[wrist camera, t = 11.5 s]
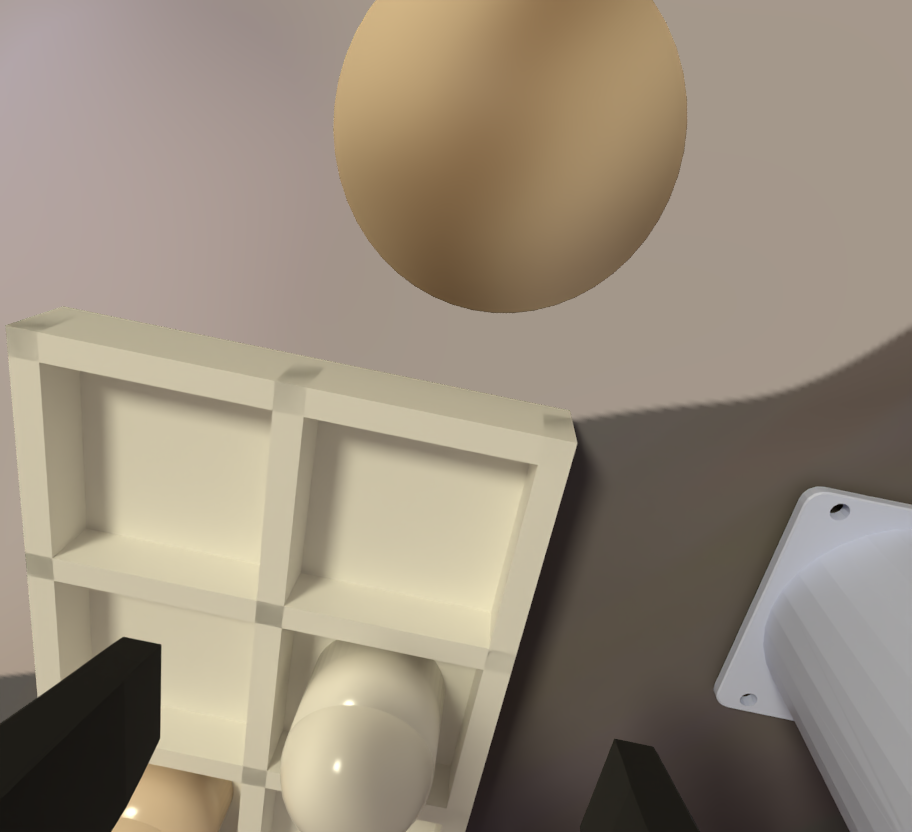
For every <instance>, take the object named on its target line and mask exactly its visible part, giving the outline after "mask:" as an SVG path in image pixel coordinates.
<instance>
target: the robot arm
mask: <svg viewBox="0 0 912 832" xmlns="http://www.w3.org/2000/svg"><path fill="white" fill-rule="evenodd" d="M837 504H843V507H842V508H841V509H840V511H838V512H836V513H830V510H831V509H832V508H833V506H835V505H837ZM714 692H715V695H716V698H717V700H718V702H719V703H720V704H721V705H723V706H726V707H729V708H734V709H739V710H744V711H749V712H753V713H758V714H763V715H768V716H773V717H778V718H782V719H787V720H792V721H795V723H796V725H797V727H798V729H799V731H800V733H801V735H802V737H803V739H804V741H805V743H806V745H807V747H808V749H809V751H810V753H811V755H812V757H813V759H814V761H815V763H816V765H817V767H818V769H819V771H820V773H821V775H822V777H823V779H824V781H825V783H826V785H827V787H828V789H829V791H830V793H831V795H832V797H833V799H834V801H835V803H836V805H837V807H838V809H839V811H840V813H841V815H842V817H843V819H844V821H845V823H846V825H847V827H848V829H849V831H850V832H912V505H910V504H905V503H900V502H895V501H891V500H886V499H881V498H876V497H871V496H866V495H861V494H857V493H852V492H847V491H842V490H837V489H832V488H827V487H813V488H810V489H808V490H807V491H805V492H804V493H803V494H802V495H801V496H800V498H799V500H798V502H797V504H796V506H795V508H794V511H793V513H792V515H791V517H790V520H789V522H788V524H787V526H786V528H785V531H784V533H783V535H782V537H781V539H780V542H779V544H778V546H777V548H776V550H775V553H774V555H773V557H772V559H771V561H770V564H769V566H768V568H767V570H766V572H765V575H764V577H763V579H762V581H761V583H760V586H759V588H758V590H757V592H756V594H755V597H754V599H753V601H752V603H751V605H750V608H749V610H748V612H747V614H746V616H745V619H744V621H743V623H742V625H741V627H740V630H739V632H738V634H737V636H736V639H735V641H734V643H733V645H732V647H731V650H730V652H729V654H728V656H727V658H726V661H725V663H724V665H723V667H722V669H721V672H720V674H719V676H718V678H717V680H716V683H715V685H714ZM745 694H750V695H748V696H743V695H745ZM160 726H161V644H157V643H152V642H147V641H142V640H138V639H133V638H128V637H122V638H120V639H119V640H117V641H116V642H114V643H113V644H111V645H110V646H109V647H107V648H106V649H104V650H103V651H101V652H100V653H99V654H97V655H96V656H95V657H93V658H92V659H90V660H89V661H88V662H86V663H85V664H84V665H82V666H81V667H79V668H78V669H77V670H75V671H74V672H72V673H71V674H70V675H68V676H67V677H66V678H64V679H63V680H61V681H60V682H59V683H57V684H56V685H54V686H53V687H52V688H50V689H49V690H47V691H46V692H45V693H43V694H42V695H40V696H39V697H38V698H36V699H35V700H33V701H32V702H31V703H29V704H28V705H26V706H25V707H23V708H22V709H20V710H19V711H18V712H16V713H15V714H13V715H12V716H10V717H9V718H7V719H6V720H5V721H3V722H2V723H0V832H111V831H112V830H113V828H114V827H115V825H116V823H117V822H118V820H119V819H120V817H121V815H122V814H123V812H124V810H125V809H126V807H127V805H128V803H129V801H130V799H131V797H132V795H133V793H134V791H135V789H136V787H137V785H138V783H139V782H140V780H141V778H142V776H143V774H144V771H145V769H146V767H147V765H148V763H149V761H150V759H151V757H152V755H153V753H154V751H155V749H156V747H157V745H158V742H159V740H160ZM580 832H700V831H699V829H698V827H697V825H696V824H695V822H694V820H693V818H692V816H691V815H690V813H689V811H688V809H687V807H686V805H685V804H684V802H683V800H682V798H681V796H680V794H679V793H678V791H677V789H676V787H675V785H674V783H673V781H672V780H671V778H670V776H669V774H668V772H667V770H666V768H665V767H664V765H663V763H662V761H661V759H660V757H659V755H658V754H657V752H656V751H655V749H654V747H652V746H647V745H642V744H637V743H633V742H628V741H623V740H618V739H614V741H613V744H612V746H611V749H610V751H609V754H608V757H607V759H606V762H605V764H604V767H603V769H602V772H601V775H600V777H599V780H598V782H597V785H596V787H595V790H594V792H593V795H592V798H591V800H590V803H589V805H588V808H587V810H586V813H585V815H584V818H583V821H582V823H581V826H580Z"/></svg>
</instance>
